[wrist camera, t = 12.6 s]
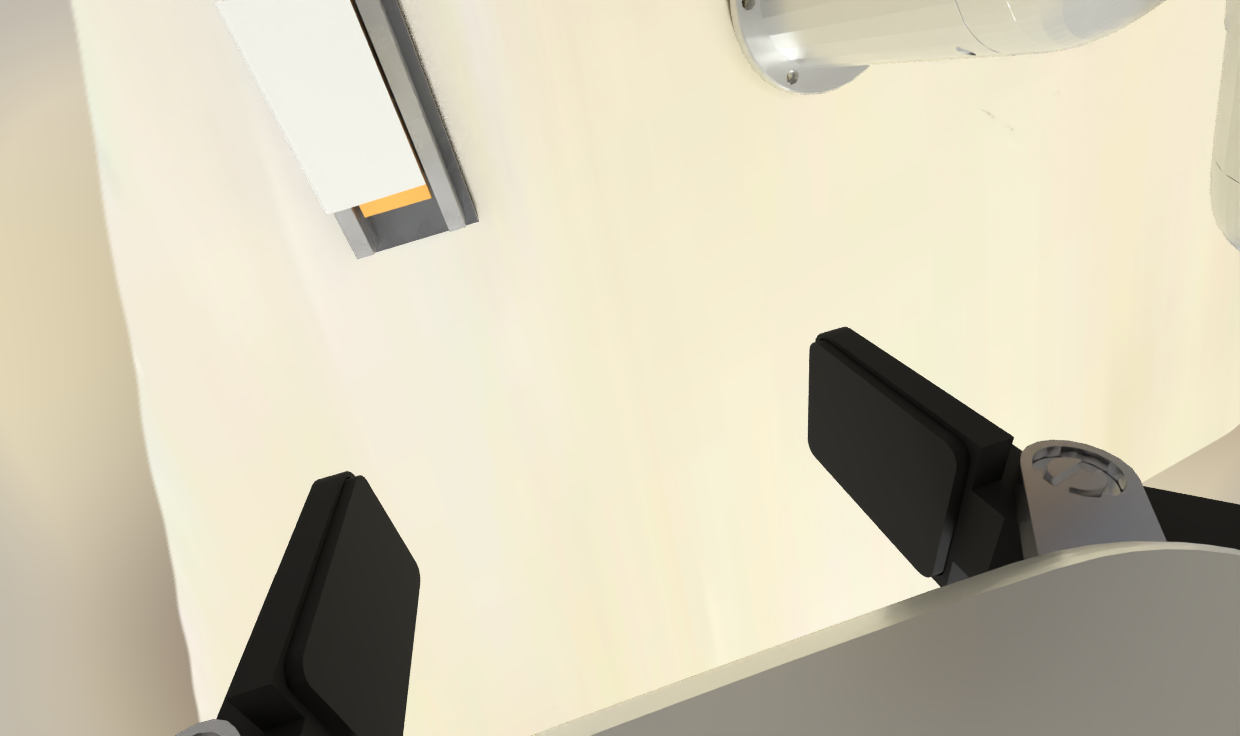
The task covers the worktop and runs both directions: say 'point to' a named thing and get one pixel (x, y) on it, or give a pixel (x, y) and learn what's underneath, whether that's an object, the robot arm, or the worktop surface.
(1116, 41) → the worktop surface
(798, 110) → the worktop surface
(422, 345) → the worktop surface
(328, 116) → the block
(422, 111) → the rail
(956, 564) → the robot arm
